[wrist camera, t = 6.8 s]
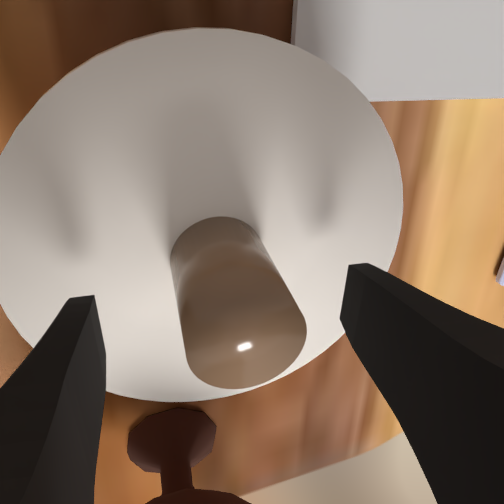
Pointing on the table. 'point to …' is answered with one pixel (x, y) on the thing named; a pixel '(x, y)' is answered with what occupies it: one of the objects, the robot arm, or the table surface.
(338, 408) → the table surface
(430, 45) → the mat
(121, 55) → the lid
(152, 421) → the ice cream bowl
